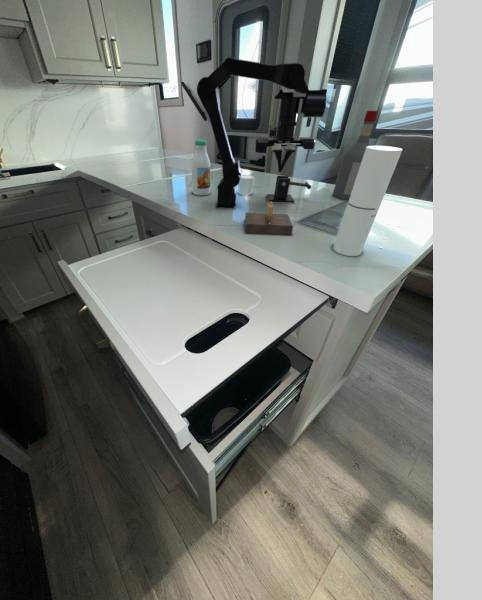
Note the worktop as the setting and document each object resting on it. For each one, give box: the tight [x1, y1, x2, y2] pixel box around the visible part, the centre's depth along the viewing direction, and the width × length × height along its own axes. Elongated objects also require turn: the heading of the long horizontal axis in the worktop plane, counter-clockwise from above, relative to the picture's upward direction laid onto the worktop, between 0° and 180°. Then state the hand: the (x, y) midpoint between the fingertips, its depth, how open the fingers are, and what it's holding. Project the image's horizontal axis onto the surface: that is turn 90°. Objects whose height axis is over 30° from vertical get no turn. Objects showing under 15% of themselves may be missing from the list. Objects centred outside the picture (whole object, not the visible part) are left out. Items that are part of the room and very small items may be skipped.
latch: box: [289, 180, 312, 190], centre depth 104 cm, size 12×5×2 cm, turn 85°
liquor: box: [332, 110, 379, 202], centre depth 103 cm, size 9×9×30 cm
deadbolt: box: [265, 200, 274, 222], centre depth 83 cm, size 5×1×5 cm, turn 174°
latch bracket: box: [266, 175, 295, 204], centre depth 106 cm, size 10×8×9 cm
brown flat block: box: [244, 212, 294, 236], centre depth 85 cm, size 14×10×3 cm
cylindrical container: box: [333, 145, 403, 257], centre depth 66 cm, size 7×7×25 cm
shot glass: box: [237, 174, 256, 196], centre depth 113 cm, size 7×7×7 cm
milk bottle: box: [191, 139, 211, 196], centre depth 109 cm, size 8×8×20 cm
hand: (279, 171), depth 92 cm, fingers closed
